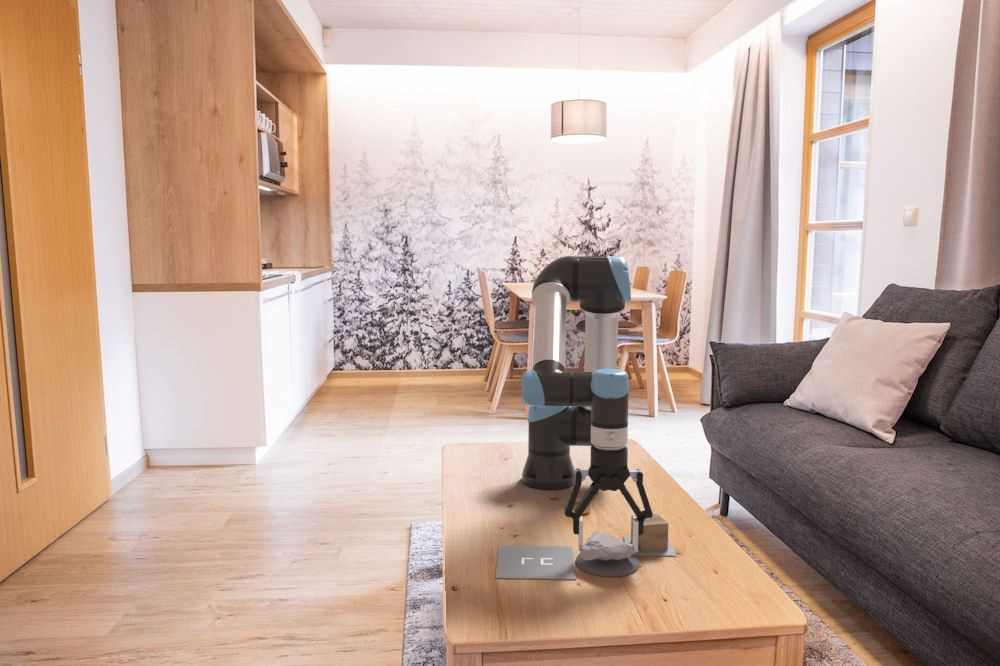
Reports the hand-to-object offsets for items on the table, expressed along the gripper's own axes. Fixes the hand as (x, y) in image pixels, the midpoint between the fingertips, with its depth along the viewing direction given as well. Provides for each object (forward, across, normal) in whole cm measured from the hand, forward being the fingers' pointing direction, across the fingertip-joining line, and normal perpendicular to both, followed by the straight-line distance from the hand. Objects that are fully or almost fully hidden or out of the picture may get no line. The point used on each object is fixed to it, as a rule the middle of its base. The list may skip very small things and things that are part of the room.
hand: (607, 549), depth 153 cm
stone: (+1, 0, 0) cm, 1 cm away
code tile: (+3, -15, 0) cm, 15 cm away
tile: (+3, +10, +9) cm, 14 cm away
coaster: (+3, 0, 0) cm, 3 cm away
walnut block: (+3, +10, +9) cm, 14 cm away
